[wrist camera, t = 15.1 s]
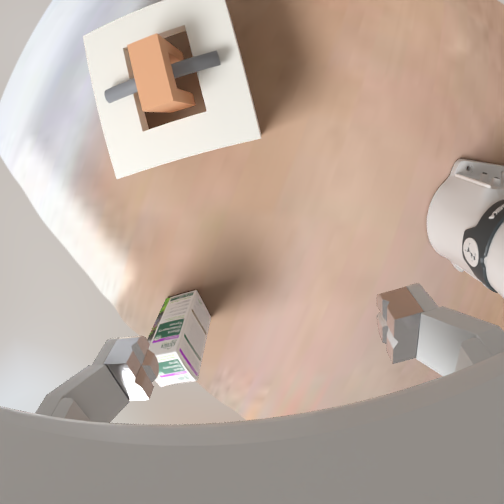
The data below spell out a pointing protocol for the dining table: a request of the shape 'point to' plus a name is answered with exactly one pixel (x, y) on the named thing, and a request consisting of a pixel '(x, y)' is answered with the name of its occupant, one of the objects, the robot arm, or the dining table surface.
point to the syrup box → (180, 338)
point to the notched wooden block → (157, 75)
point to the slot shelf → (212, 82)
